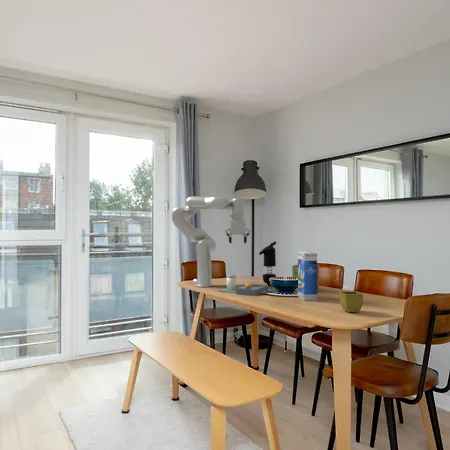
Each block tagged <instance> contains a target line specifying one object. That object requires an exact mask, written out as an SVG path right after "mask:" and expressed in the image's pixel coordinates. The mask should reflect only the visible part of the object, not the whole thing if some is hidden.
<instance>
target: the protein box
mask: <svg viewBox="0 0 450 450" xmlns="http://www.w3.org/2000/svg"><path fill="white" fill-rule="evenodd" d="M319 267H320V266H319V265H318V264H317V293H318V292H319V290H320V283H319V281H320V278H319V276H320V275H319V273H320V272H319V271H320V270H319V269H320V268H319ZM291 269H292V278H298V264H294V265H292V268H291ZM295 292H298V288H297V289H296V291H295Z"/></svg>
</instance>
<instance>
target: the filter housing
mask: <svg viewBox="0 0 450 450" xmlns="http://www.w3.org/2000/svg"><path fill="white" fill-rule="evenodd" d="M251 284H252V287H251V288H250V289H248V288H246V285H243V286H239V287H236V288H237V292H236V295H241V296H253V297H256V296H258V295H262V294H263V293H262V292H264V291H267V292H269V291H268V290H269V288H270V286H269V285H268V284H257V283H256V284H255V283H251ZM264 293H265V292H264Z"/></svg>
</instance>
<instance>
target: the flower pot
mask: <svg viewBox="0 0 450 450" xmlns="http://www.w3.org/2000/svg"><path fill="white" fill-rule="evenodd" d="M338 294H339V295H338V296H339V302H340V306H341V308H342V309H343V311H344V310H345V311H344V312H346V311H347V313H348V312H355V313H356V312H358V313H359V312H360V311H361V309H362V307H363V304H364V295H365V293H362V292H359V291H355V290H351V291H350V290H349V291H348V290H346V291H345V290H344V291H338Z"/></svg>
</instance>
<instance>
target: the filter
mask: <svg viewBox="0 0 450 450" xmlns="http://www.w3.org/2000/svg"><path fill="white" fill-rule="evenodd" d="M276 244H277V241H273V242H270V244H268V246H265V247H264V248H262V250H261V251H260V252H259V253H258V254H259V256H261V255H263V267H266V269H267V273H264V274H262V280H263V282H264V283H265V284H266V285H269V287H271V286H272V284H270V281H269V278H271V277H276V278H277V275H276V274H275V273H272V269H273V267H276V266H277V263H276V261H277V260H276V255H277V254H276V248H275V247H274V246H275V245H276ZM268 268H269V269H268Z"/></svg>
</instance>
